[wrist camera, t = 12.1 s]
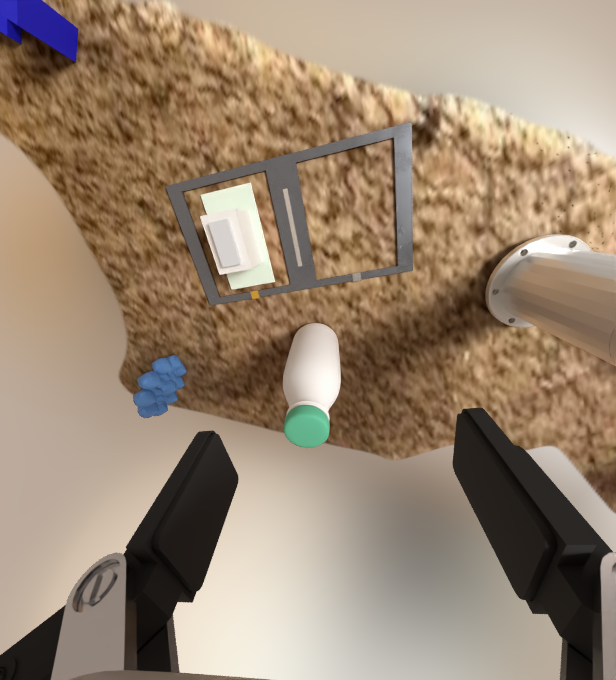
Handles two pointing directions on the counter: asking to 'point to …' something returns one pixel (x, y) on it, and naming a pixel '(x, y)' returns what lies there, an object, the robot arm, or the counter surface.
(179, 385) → the grapes
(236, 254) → the plug
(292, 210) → the two-window grey frame
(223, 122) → the counter surface
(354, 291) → the counter surface
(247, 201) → the port pad
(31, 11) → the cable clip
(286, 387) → the milk bottle
